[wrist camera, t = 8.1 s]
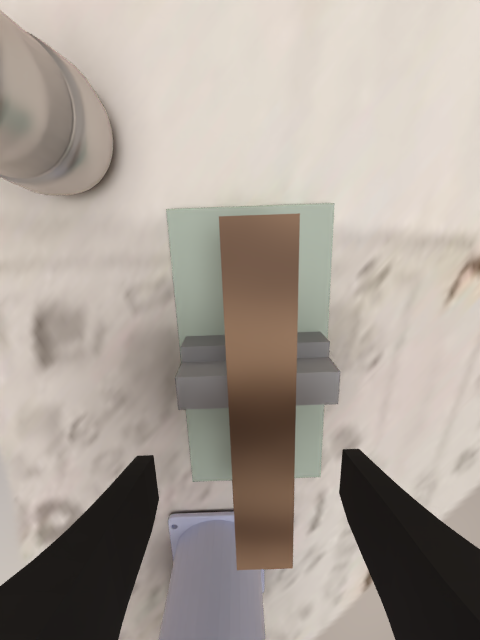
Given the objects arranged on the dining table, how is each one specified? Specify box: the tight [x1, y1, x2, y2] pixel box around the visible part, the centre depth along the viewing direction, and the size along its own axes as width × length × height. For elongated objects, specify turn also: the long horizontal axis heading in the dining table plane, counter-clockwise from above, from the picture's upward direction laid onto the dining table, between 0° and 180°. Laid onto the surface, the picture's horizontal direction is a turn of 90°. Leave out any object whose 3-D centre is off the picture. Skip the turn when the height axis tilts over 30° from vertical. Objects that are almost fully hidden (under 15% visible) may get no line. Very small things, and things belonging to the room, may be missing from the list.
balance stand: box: [166, 203, 340, 482], centre depth 18 cm, size 20×10×5 cm, turn 2°
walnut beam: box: [219, 213, 300, 570], centre depth 15 cm, size 18×3×3 cm, turn 2°
